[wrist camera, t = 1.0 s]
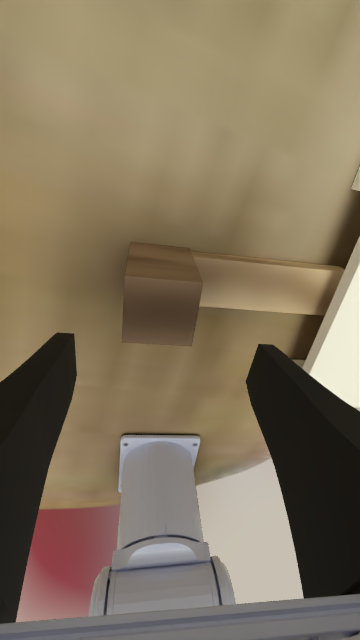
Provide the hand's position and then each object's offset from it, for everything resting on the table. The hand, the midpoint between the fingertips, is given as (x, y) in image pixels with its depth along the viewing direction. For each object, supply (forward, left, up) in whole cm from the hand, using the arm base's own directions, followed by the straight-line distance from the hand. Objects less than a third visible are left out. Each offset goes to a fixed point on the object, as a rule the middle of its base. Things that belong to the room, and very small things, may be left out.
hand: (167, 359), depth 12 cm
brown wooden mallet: (-1, -6, -11) cm, 12 cm away
